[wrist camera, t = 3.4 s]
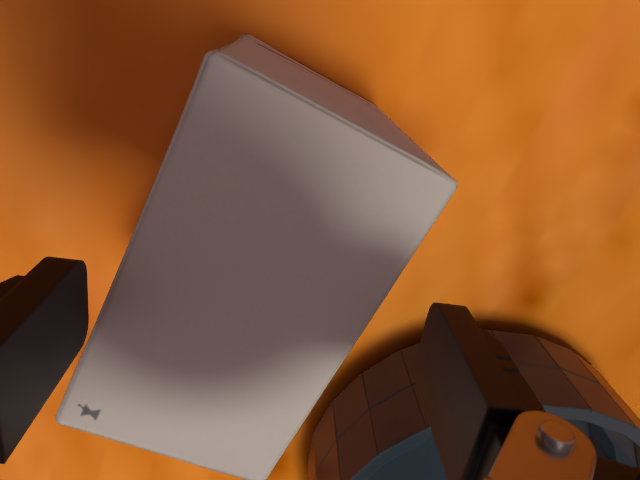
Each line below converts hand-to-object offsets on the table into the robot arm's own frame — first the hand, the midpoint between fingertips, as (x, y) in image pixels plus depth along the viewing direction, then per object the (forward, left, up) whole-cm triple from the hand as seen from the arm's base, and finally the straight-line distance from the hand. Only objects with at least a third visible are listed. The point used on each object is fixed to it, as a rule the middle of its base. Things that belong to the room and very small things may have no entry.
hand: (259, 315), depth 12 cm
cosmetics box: (-1, 0, -11) cm, 11 cm away
